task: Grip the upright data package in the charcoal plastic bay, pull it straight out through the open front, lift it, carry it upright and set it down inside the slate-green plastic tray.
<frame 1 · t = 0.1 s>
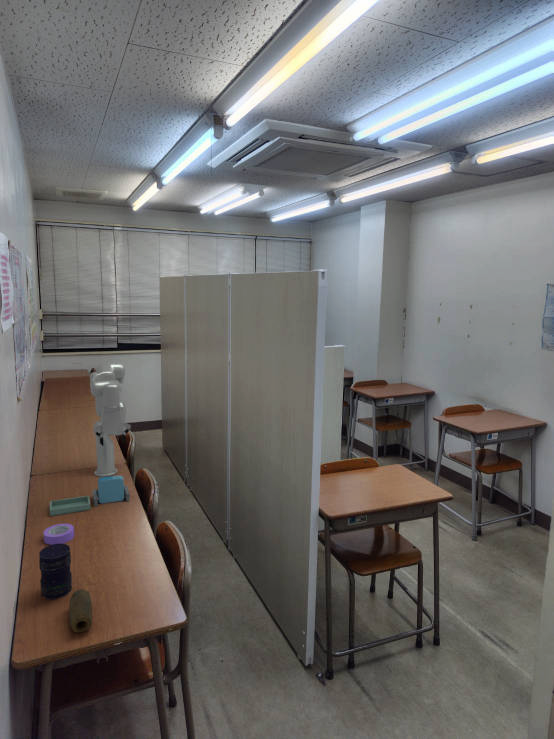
hand: (112, 443, 227), 31 cm above the table, tool pointing down, fingers open, 9 cm apart
masking tape: (59, 538, 199), on the table
bay: (111, 500, 236), on the table
tray: (70, 508, 226), on the table
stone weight: (81, 620, 150), on the table
storage jar: (56, 591, 164), on the table
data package: (111, 501, 236), on the table
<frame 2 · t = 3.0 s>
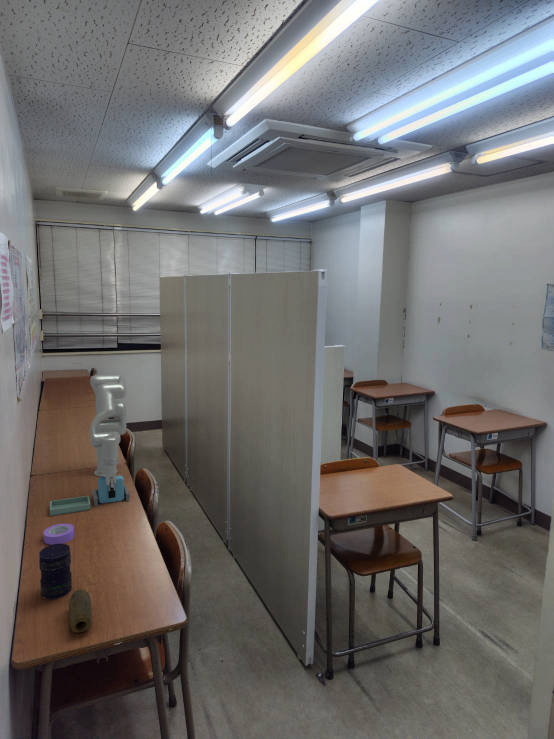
hand: (111, 495, 235), 3 cm above the table, tool pointing down, fingers closed on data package, 4 cm apart
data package: (111, 501, 236), on the table, touching gripper
everything else where it was.
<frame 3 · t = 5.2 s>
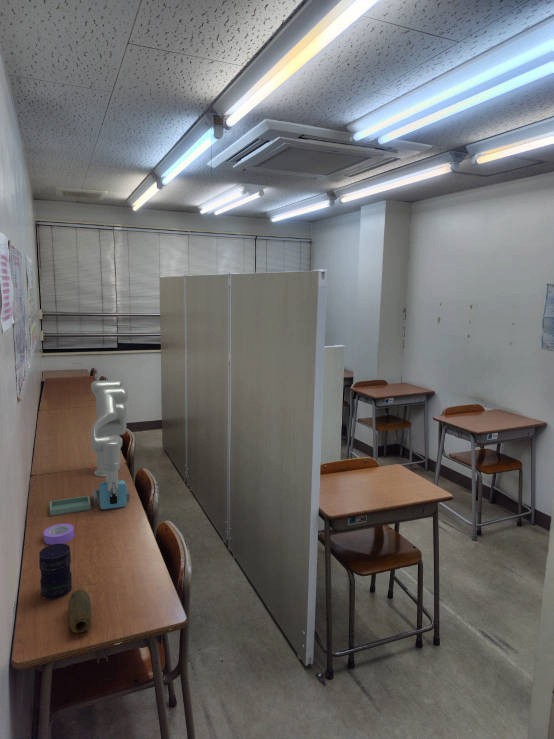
hand: (113, 501, 228), 3 cm above the table, tool pointing down, fingers closed on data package, 4 cm apart
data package: (113, 506, 228), on the table, touching gripper
everything else where it was.
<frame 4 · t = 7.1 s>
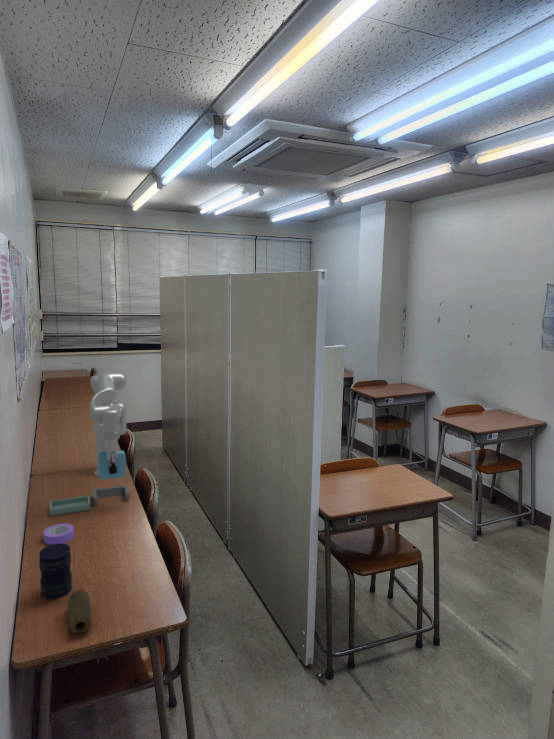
hand: (112, 471, 224), 19 cm above the table, tool pointing down, fingers closed on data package, 4 cm apart
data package: (112, 477, 225), point 16 cm above the table, touching gripper
everything else where it was.
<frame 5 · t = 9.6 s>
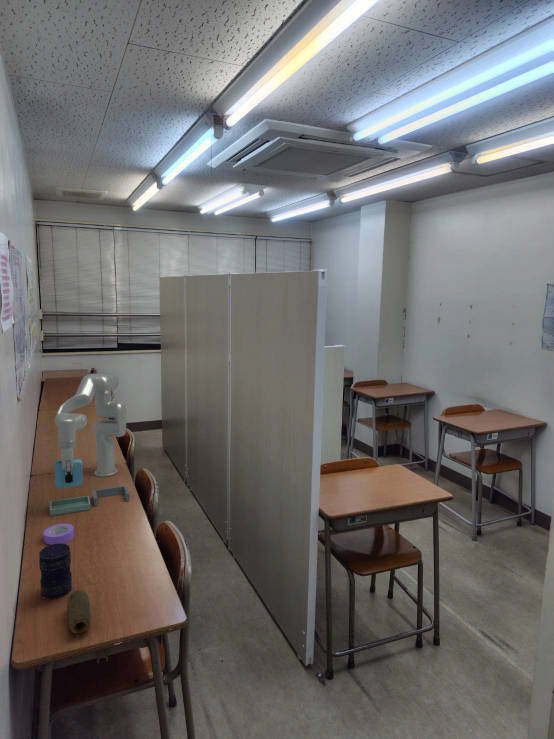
hand: (69, 480, 224), 14 cm above the table, tool pointing down, fingers closed on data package, 4 cm apart
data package: (69, 485, 224), point 11 cm above the table, touching gripper
everything else where it was.
when the fingers open (5 cm above the table, at t = 11.6 s): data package drops 1 cm, resting on tray.
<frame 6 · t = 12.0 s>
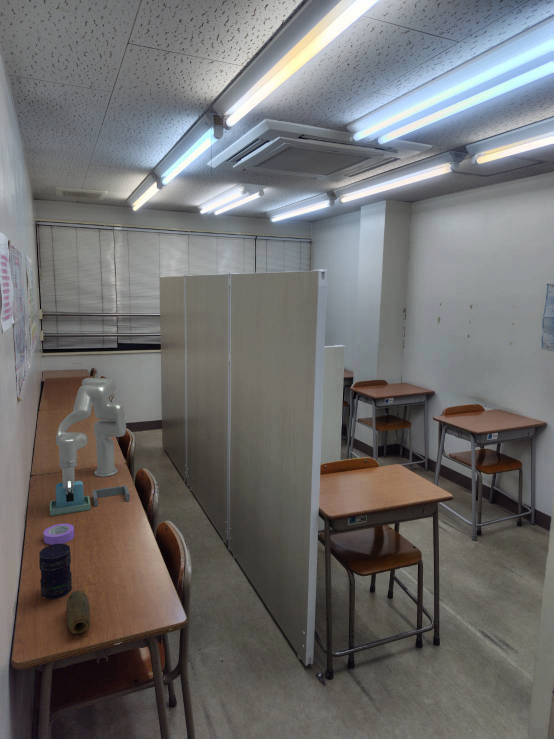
hand: (69, 497, 225), 6 cm above the table, tool pointing down, fingers open, 8 cm apart
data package: (70, 507, 226), resting on tray
everything else where it was.
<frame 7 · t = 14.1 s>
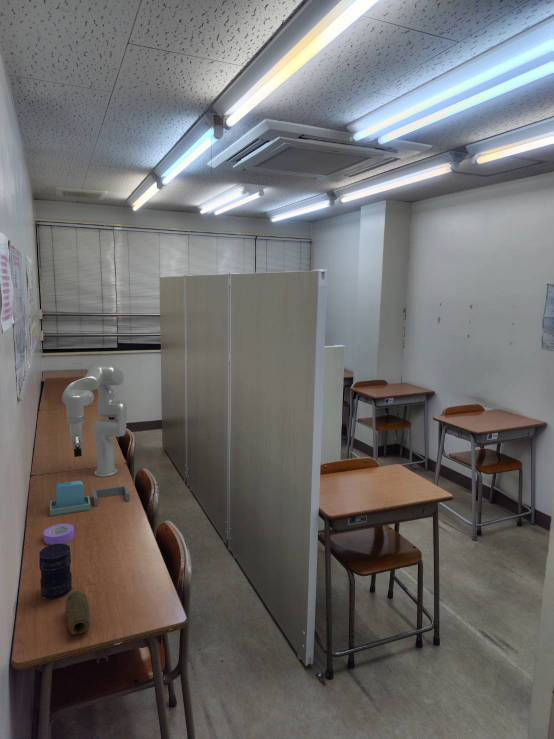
hand: (77, 452, 229), 26 cm above the table, tool pointing down, fingers open, 9 cm apart
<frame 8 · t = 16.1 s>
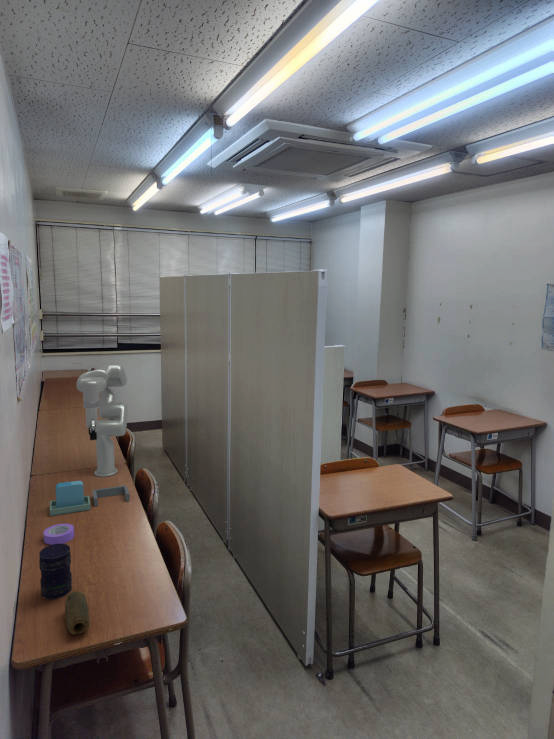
hand: (92, 437, 239), 30 cm above the table, tool pointing down, fingers open, 9 cm apart
at the end: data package 0.2 cm off-centre on the tray, point 0.4 cm above the tray's base; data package tilted 0°; the gripper is holding nothing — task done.
